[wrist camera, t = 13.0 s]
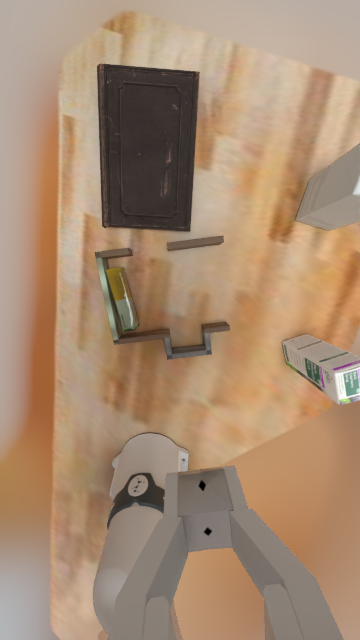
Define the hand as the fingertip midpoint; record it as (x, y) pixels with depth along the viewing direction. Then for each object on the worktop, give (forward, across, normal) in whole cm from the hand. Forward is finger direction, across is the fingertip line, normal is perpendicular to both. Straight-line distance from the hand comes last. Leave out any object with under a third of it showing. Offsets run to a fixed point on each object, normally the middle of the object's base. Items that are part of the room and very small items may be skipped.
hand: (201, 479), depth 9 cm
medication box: (+34, -11, +5) cm, 36 cm away
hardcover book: (+34, -2, +29) cm, 45 cm away
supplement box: (+33, +28, +18) cm, 47 cm away
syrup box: (+33, +24, -10) cm, 42 cm away
